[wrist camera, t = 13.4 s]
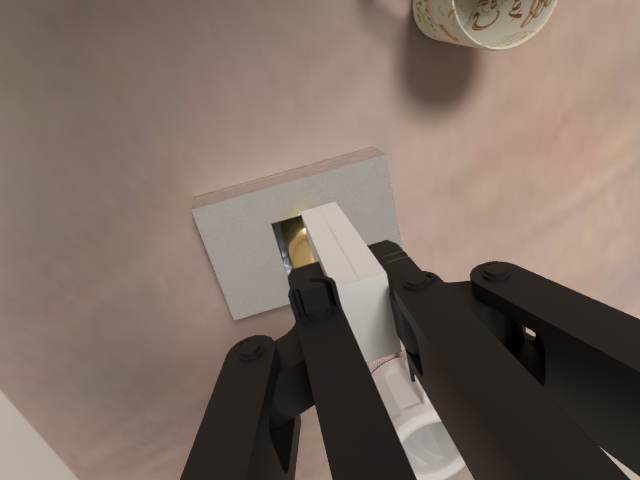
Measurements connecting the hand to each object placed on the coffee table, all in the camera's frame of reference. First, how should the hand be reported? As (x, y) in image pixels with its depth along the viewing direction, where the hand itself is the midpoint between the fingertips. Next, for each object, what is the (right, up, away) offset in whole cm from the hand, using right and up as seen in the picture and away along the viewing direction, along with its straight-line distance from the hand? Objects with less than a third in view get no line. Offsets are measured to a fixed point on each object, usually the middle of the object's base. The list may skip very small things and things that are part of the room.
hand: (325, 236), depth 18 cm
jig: (-2, +1, +26) cm, 26 cm away
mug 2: (+10, -18, +36) cm, 42 cm away
